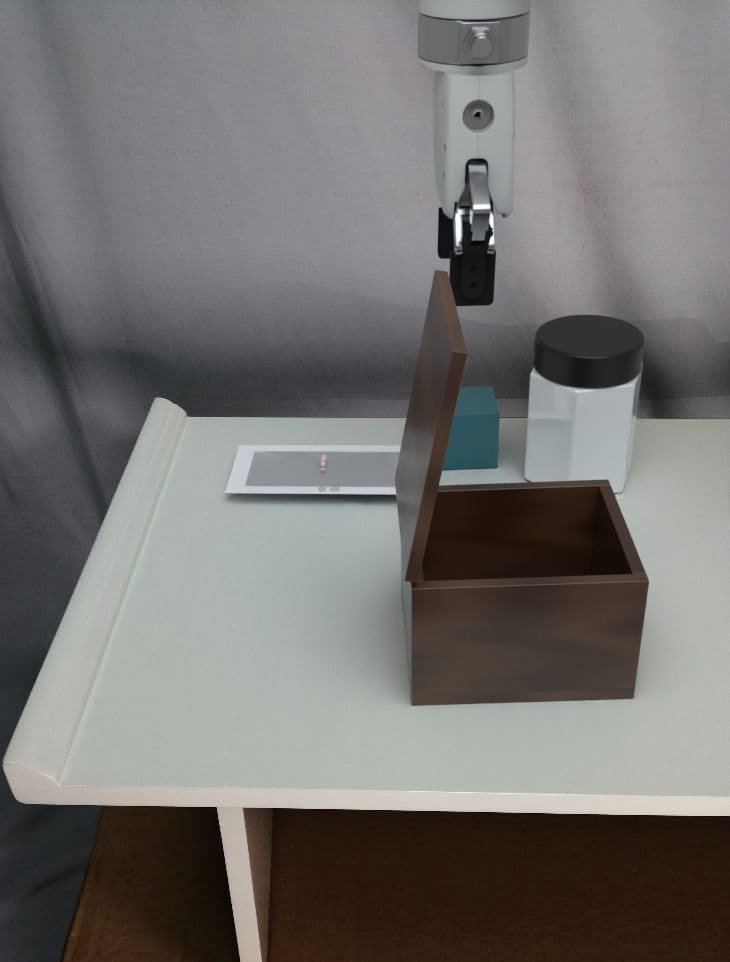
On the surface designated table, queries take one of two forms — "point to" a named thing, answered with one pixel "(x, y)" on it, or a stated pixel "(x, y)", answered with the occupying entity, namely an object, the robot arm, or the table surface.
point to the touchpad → (314, 469)
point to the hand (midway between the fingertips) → (463, 279)
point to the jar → (583, 400)
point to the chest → (525, 596)
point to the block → (474, 430)
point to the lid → (429, 422)
